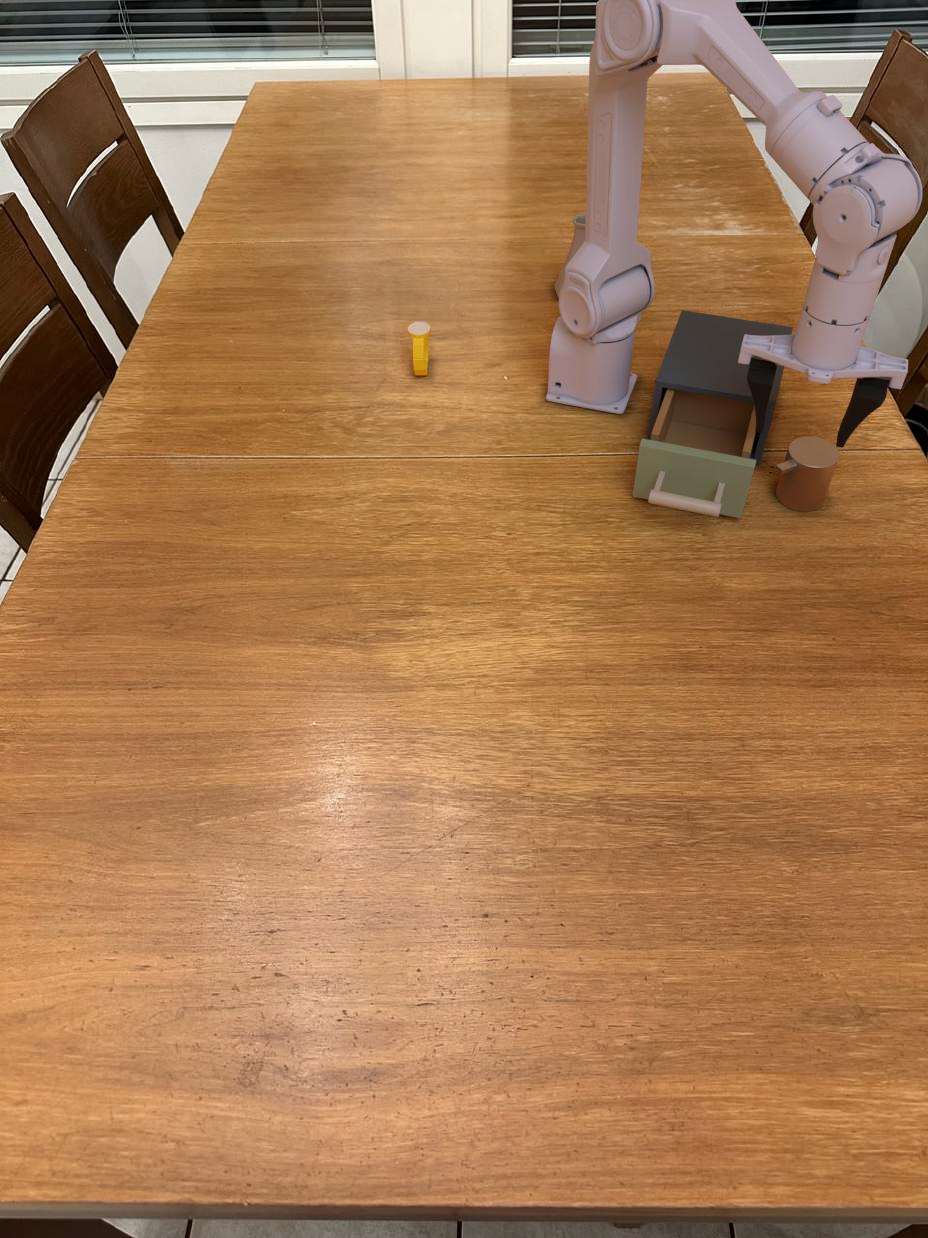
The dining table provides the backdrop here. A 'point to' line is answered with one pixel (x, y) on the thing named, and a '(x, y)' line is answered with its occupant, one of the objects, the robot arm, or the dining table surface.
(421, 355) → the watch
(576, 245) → the flask
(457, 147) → the dining table surface
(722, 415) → the drawer
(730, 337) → the cabinet
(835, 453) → the measuring cup
